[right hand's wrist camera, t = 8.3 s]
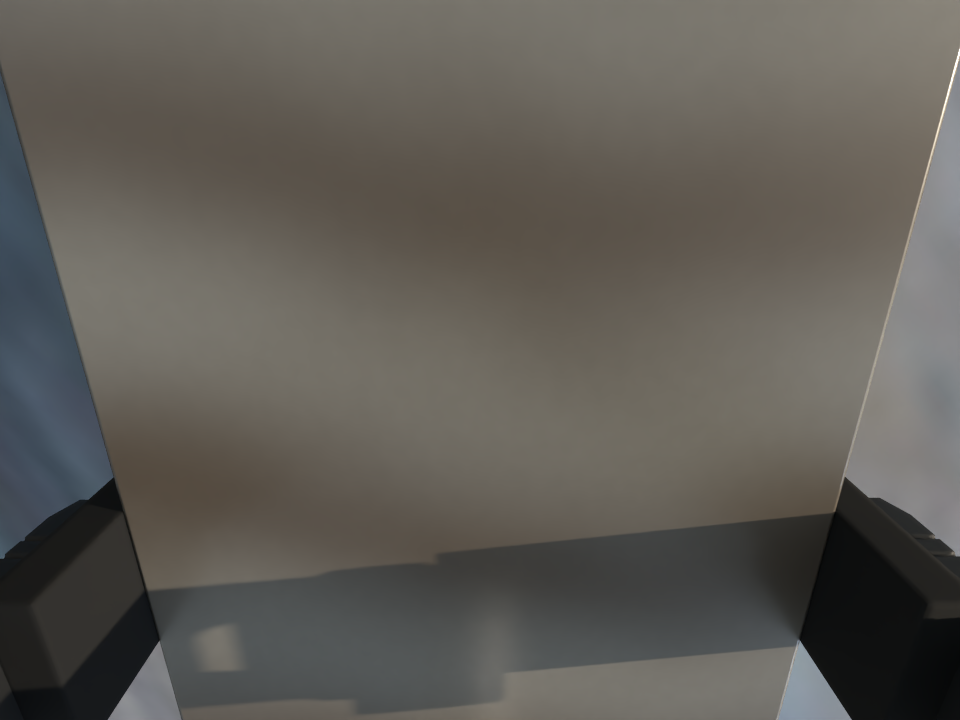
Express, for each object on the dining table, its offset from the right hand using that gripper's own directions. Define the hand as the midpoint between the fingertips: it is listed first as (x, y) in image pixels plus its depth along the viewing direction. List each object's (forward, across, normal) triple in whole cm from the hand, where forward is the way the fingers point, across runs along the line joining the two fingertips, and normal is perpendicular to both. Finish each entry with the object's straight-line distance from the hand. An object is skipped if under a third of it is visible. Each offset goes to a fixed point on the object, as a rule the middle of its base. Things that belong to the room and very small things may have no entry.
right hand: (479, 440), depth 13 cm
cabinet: (+4, 0, -6) cm, 7 cm away
